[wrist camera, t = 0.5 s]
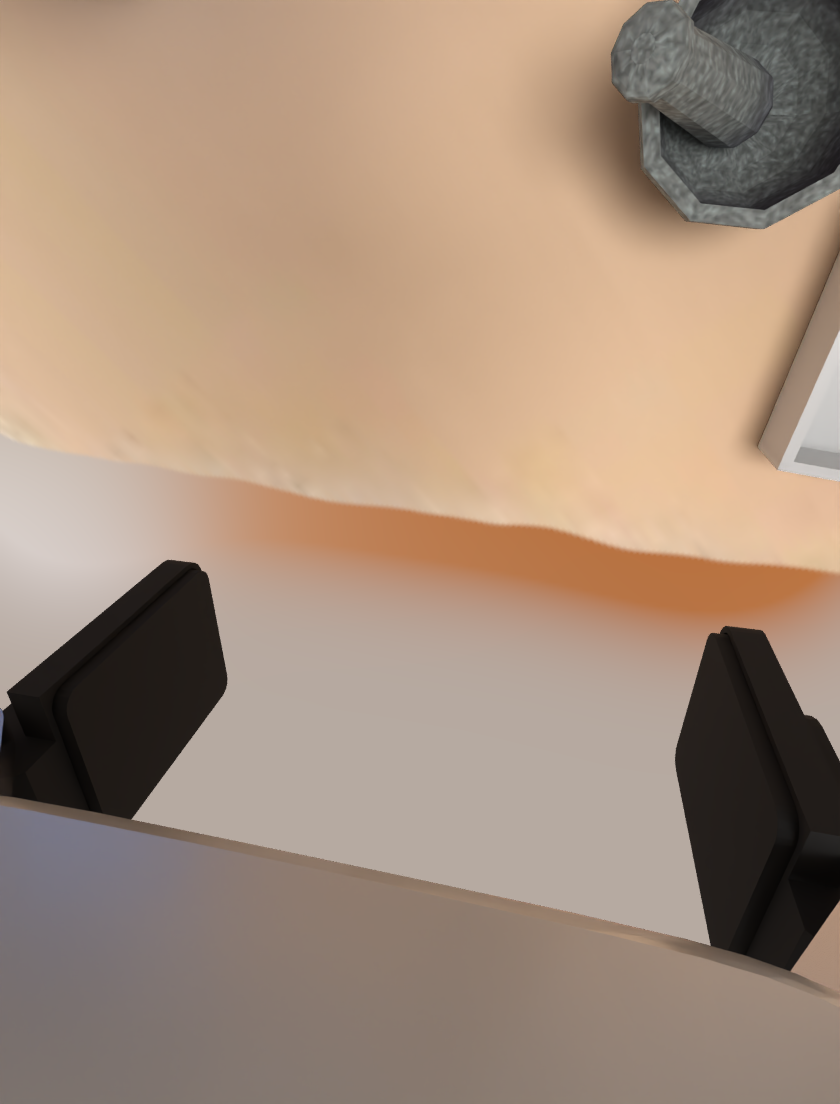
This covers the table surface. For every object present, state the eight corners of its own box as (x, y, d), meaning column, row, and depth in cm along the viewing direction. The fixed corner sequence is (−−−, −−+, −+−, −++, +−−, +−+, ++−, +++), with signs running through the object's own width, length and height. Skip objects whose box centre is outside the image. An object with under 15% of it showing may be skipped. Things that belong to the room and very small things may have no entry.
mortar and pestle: (881, -2, 27) (1082, -149, 16) (796, 236, 31) (909, 240, 21) (622, -17, 28) (654, -161, 18) (577, 212, 33) (581, 204, 22)
